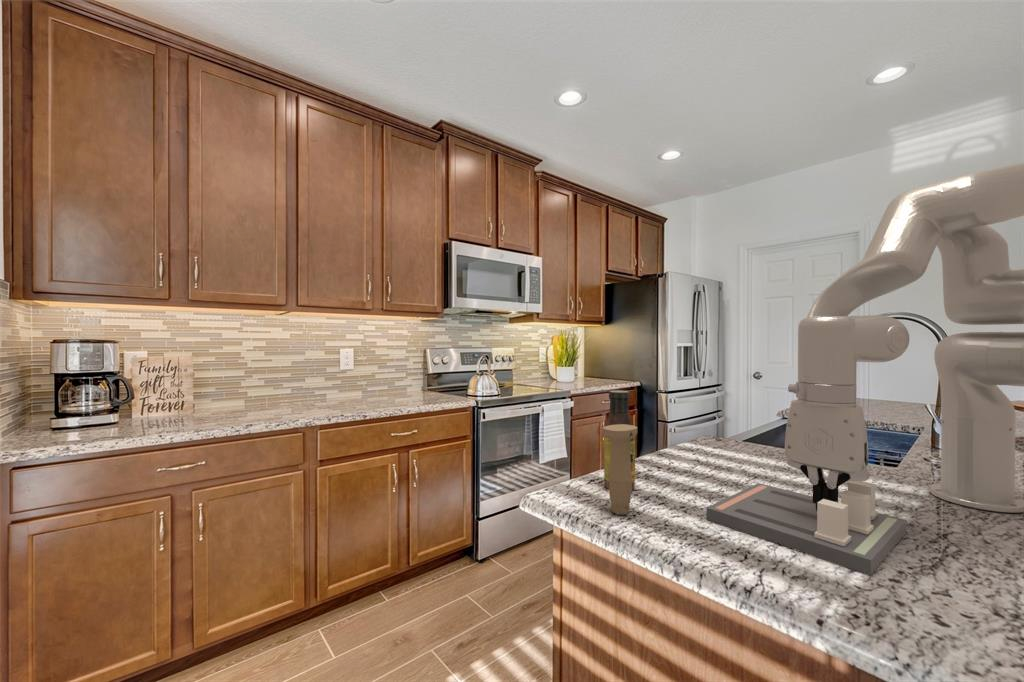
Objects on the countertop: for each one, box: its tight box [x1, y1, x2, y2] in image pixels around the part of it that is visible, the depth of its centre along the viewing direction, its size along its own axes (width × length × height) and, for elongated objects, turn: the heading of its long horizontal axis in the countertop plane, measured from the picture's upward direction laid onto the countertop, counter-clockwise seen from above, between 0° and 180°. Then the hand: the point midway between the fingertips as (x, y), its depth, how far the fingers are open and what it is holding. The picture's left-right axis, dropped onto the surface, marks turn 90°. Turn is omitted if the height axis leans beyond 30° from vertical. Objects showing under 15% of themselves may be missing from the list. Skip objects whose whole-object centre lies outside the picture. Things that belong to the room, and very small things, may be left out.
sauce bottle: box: [603, 389, 636, 491], centre depth 89 cm, size 7×6×20 cm
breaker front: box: [814, 499, 851, 547], centre depth 62 cm, size 3×4×5 cm
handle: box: [602, 424, 638, 516], centre depth 77 cm, size 5×6×15 cm
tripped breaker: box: [840, 489, 874, 535], centre depth 65 cm, size 3×4×5 cm
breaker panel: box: [705, 482, 908, 576], centre depth 71 cm, size 20×22×2 cm
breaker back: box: [847, 481, 879, 520], centre depth 70 cm, size 3×4×5 cm
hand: (825, 510), depth 68 cm, fingers closed
